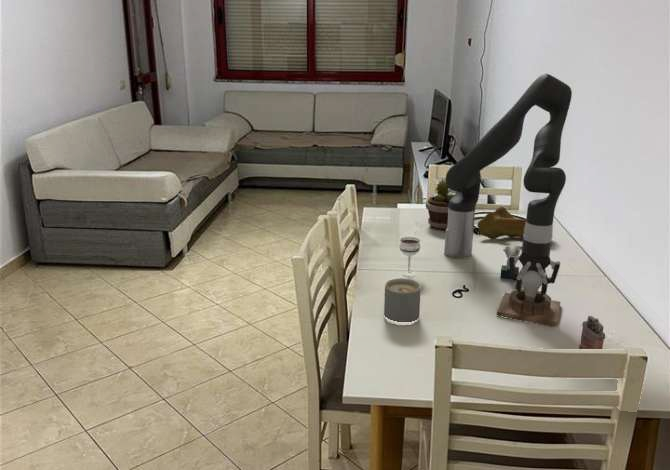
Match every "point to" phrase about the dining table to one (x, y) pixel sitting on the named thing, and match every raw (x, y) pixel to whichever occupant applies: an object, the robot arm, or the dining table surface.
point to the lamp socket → (529, 308)
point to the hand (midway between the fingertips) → (530, 292)
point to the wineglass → (409, 247)
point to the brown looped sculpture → (501, 224)
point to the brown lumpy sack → (592, 334)
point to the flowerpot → (439, 207)
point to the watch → (506, 269)
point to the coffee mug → (402, 300)
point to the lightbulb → (531, 285)
